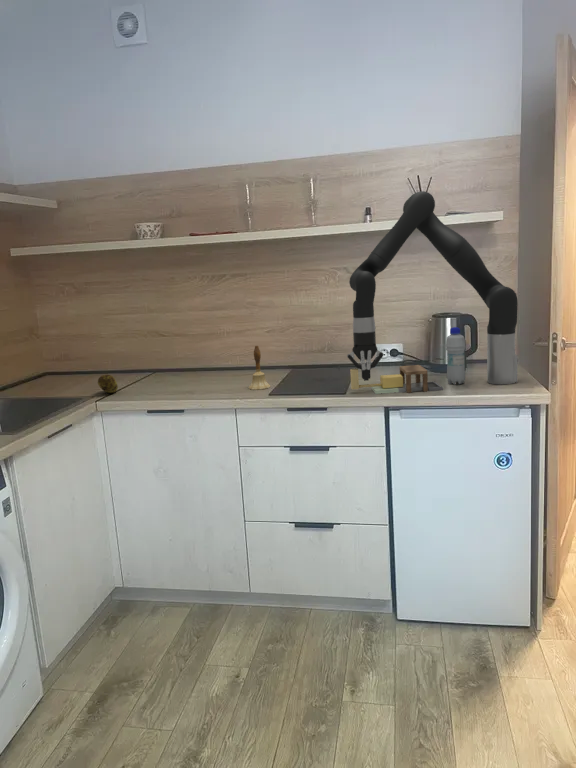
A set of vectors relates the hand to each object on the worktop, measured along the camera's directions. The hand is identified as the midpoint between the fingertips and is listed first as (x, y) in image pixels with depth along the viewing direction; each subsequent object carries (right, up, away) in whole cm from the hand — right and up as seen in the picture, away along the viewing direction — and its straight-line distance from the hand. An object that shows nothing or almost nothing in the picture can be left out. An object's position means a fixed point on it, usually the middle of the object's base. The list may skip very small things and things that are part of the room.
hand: (366, 380), depth 218 cm
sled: (+4, -2, +1) cm, 4 cm away
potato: (-97, -5, +29) cm, 101 cm away
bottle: (+33, -1, +5) cm, 33 cm away
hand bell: (-38, -3, +21) cm, 43 cm away
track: (+12, -3, +1) cm, 12 cm away
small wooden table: (+17, -3, +1) cm, 17 cm away
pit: (+23, -3, +1) cm, 23 cm away
